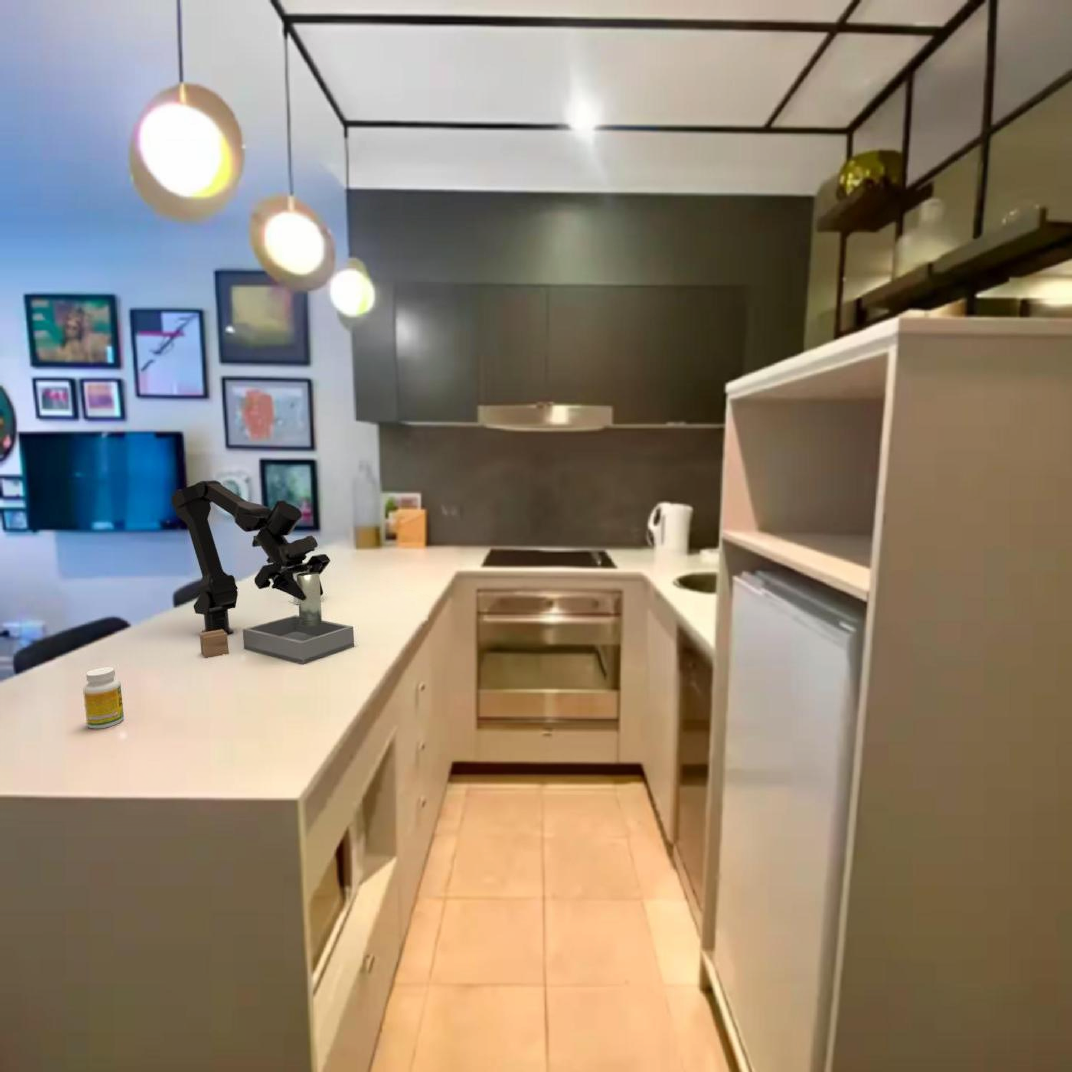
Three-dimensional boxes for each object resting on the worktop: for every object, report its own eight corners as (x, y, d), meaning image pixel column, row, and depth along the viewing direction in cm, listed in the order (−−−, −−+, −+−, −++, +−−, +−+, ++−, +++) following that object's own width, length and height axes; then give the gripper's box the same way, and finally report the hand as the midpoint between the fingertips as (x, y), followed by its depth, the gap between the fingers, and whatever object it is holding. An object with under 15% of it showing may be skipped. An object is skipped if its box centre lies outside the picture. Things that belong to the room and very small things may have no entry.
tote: (244, 649, 147) (242, 629, 146) (296, 633, 160) (295, 615, 159) (302, 664, 136) (301, 643, 135) (354, 646, 148) (353, 626, 148)
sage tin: (296, 626, 141) (293, 576, 140) (303, 620, 146) (300, 572, 145) (318, 626, 142) (315, 576, 140) (324, 620, 147) (321, 572, 145)
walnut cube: (201, 653, 145) (199, 633, 144) (224, 649, 148) (222, 629, 147) (205, 658, 141) (203, 638, 140) (228, 654, 144) (227, 633, 143)
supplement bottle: (84, 723, 107) (78, 671, 105) (120, 713, 110) (114, 663, 109) (91, 732, 103) (85, 678, 102) (127, 722, 107) (122, 670, 106)
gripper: (259, 530, 134) (297, 583, 131) (322, 522, 151) (358, 568, 148) (238, 562, 139) (274, 614, 136) (302, 550, 156) (336, 596, 152)
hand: (313, 597), depth 143 cm, fingers closed on sage tin, 5 cm apart
